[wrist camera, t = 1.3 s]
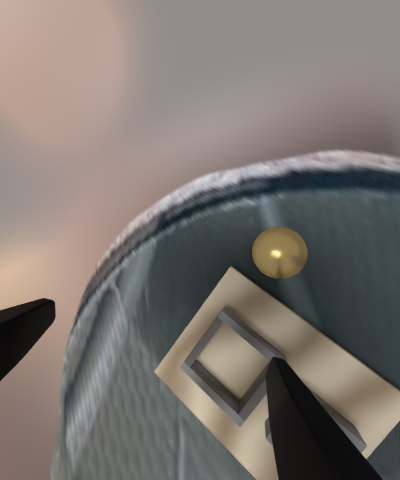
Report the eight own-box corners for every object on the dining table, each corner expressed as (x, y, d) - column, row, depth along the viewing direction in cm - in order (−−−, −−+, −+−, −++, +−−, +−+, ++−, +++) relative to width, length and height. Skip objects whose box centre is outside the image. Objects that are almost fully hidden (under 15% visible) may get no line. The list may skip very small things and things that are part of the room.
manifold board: (402, 391, 19) (435, 421, 15) (300, 510, 20) (310, 561, 16) (231, 266, 24) (228, 267, 21) (159, 365, 25) (145, 381, 22)
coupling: (301, 249, 22) (319, 246, 16) (277, 281, 22) (286, 289, 17) (267, 227, 23) (271, 217, 18) (244, 258, 24) (241, 258, 18)
